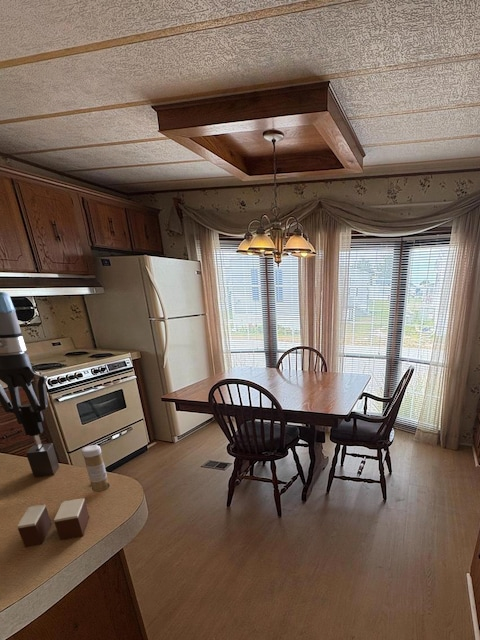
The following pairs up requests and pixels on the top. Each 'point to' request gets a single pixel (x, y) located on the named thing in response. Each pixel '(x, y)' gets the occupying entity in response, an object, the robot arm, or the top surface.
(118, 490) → the top surface
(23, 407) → the knife
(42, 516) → the cake slice
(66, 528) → the cake
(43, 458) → the knife block
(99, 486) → the sprinkles bottle
